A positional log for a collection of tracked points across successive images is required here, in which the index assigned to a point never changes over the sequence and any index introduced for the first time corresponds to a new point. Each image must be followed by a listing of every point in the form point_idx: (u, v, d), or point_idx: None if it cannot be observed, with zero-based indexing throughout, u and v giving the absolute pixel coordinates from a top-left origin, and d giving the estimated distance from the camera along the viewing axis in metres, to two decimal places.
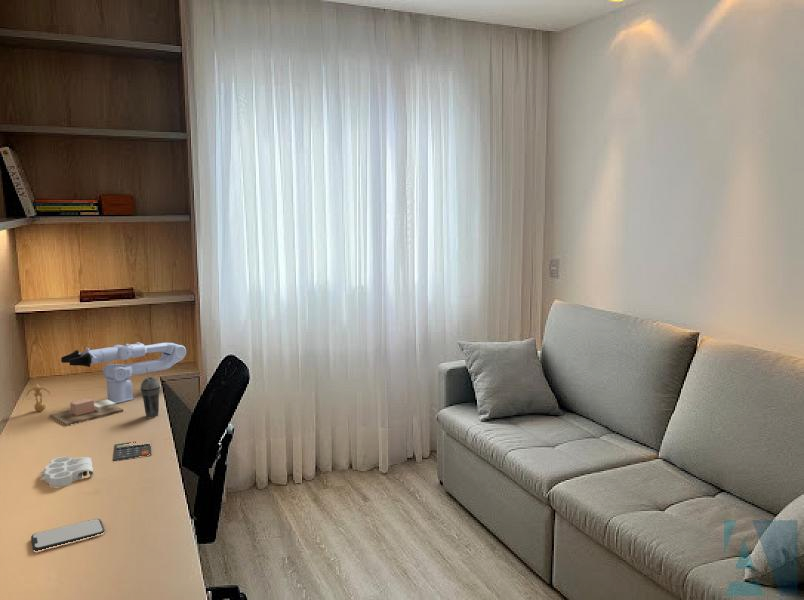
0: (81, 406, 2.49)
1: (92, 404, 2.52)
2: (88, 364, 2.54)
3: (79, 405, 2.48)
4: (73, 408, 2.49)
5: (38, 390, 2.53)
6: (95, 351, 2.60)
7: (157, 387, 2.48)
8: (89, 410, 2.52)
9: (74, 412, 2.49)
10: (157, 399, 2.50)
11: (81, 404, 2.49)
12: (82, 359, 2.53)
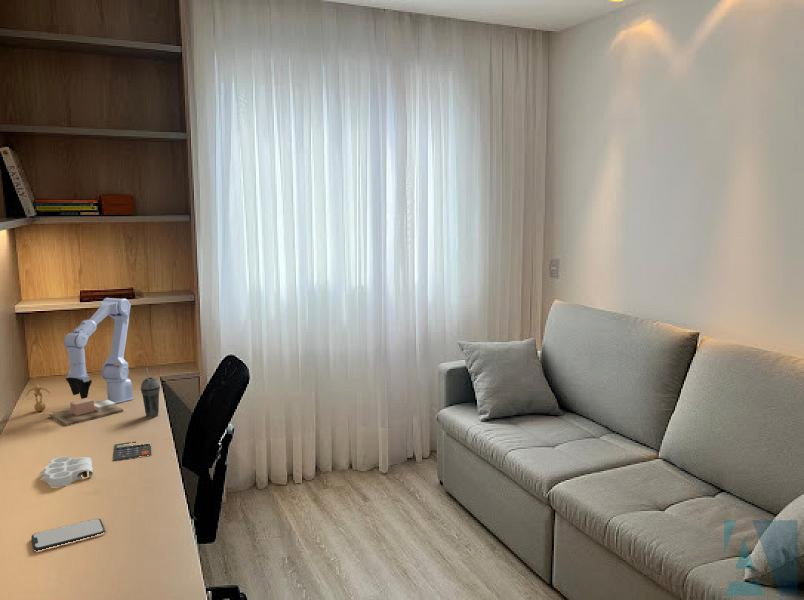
0: (81, 406, 2.49)
1: (92, 404, 2.52)
2: (89, 382, 2.47)
3: (79, 405, 2.48)
4: (73, 408, 2.49)
5: (38, 390, 2.53)
6: (73, 370, 2.46)
7: (157, 387, 2.48)
8: (89, 410, 2.52)
9: (74, 412, 2.49)
10: (157, 399, 2.50)
11: (81, 404, 2.49)
12: (82, 387, 2.47)
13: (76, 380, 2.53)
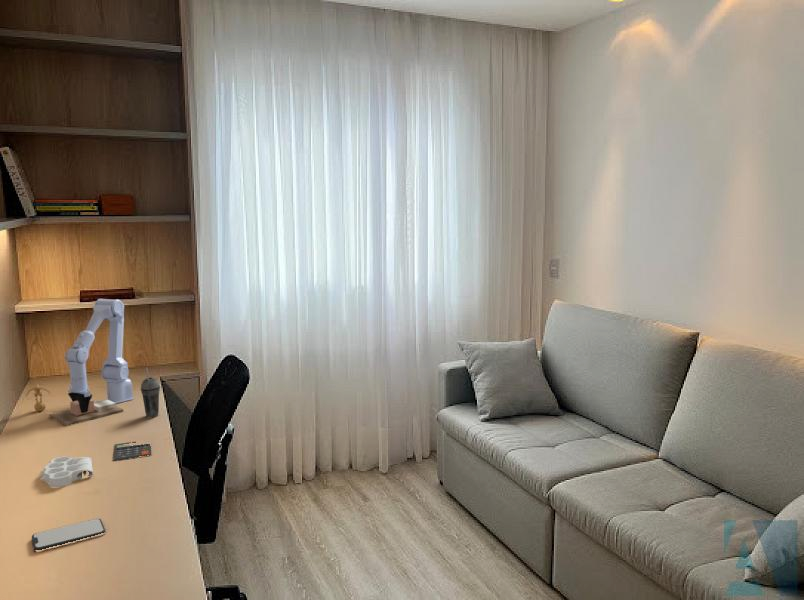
0: None
1: (92, 404, 2.52)
2: (89, 397, 2.49)
3: (79, 405, 2.48)
4: (73, 408, 2.49)
5: (38, 390, 2.53)
6: (74, 385, 2.47)
7: (157, 387, 2.48)
8: (89, 410, 2.52)
9: (74, 412, 2.49)
10: (157, 399, 2.50)
11: None
12: (82, 401, 2.48)
13: (78, 395, 2.53)
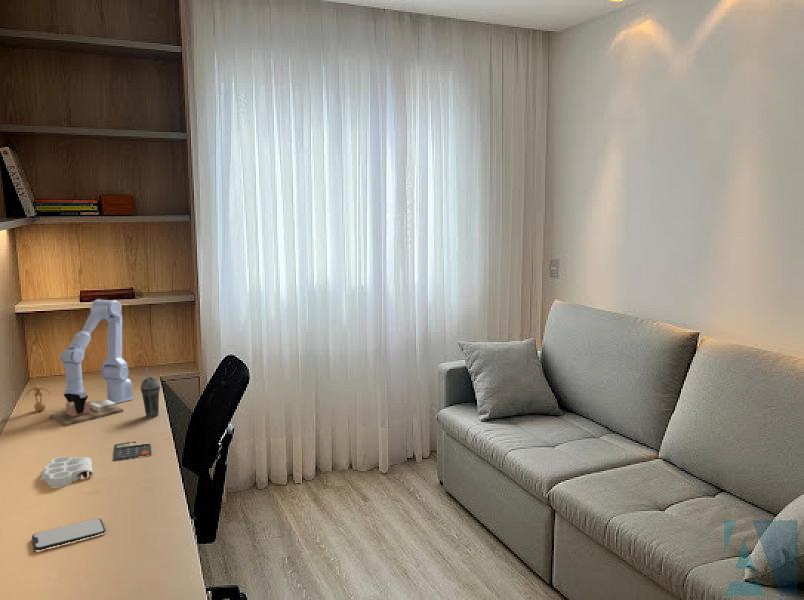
0: None
1: (88, 405, 2.51)
2: (85, 398, 2.48)
3: None
4: (69, 409, 2.48)
5: (38, 390, 2.53)
6: (69, 386, 2.46)
7: (157, 387, 2.48)
8: (85, 411, 2.50)
9: (70, 413, 2.48)
10: (157, 399, 2.50)
11: None
12: (78, 402, 2.47)
13: (74, 396, 2.52)
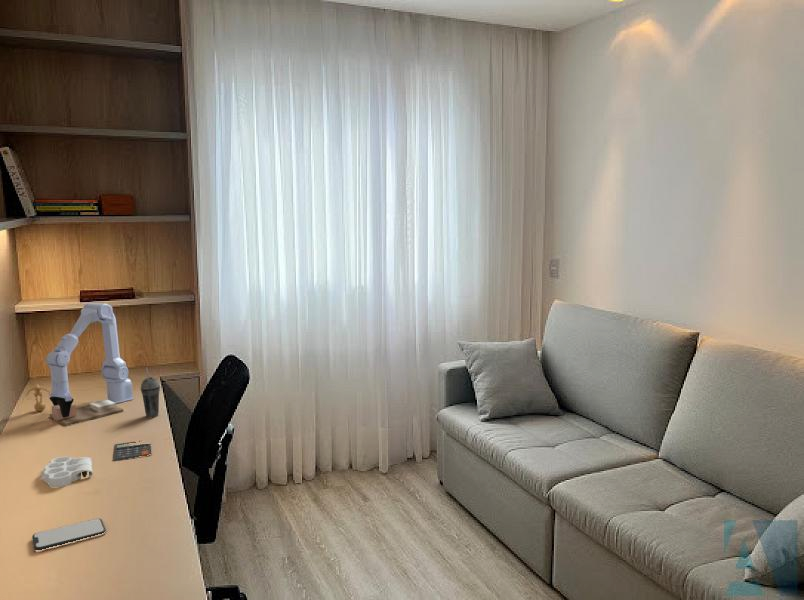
0: None
1: (74, 408, 2.47)
2: (70, 401, 2.44)
3: (60, 409, 2.43)
4: (55, 413, 2.44)
5: (38, 390, 2.53)
6: (55, 389, 2.42)
7: (157, 387, 2.48)
8: (71, 414, 2.46)
9: (55, 417, 2.44)
10: (157, 399, 2.50)
11: None
12: (63, 405, 2.43)
13: (60, 399, 2.48)
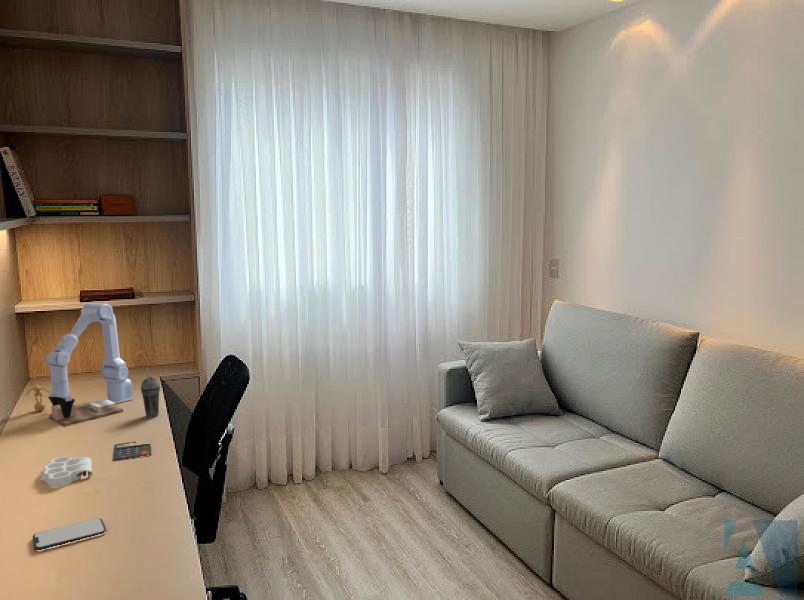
0: None
1: (74, 408, 2.47)
2: (72, 401, 2.43)
3: (60, 409, 2.43)
4: (55, 413, 2.44)
5: (38, 390, 2.53)
6: (55, 389, 2.42)
7: (157, 387, 2.48)
8: (71, 414, 2.46)
9: (55, 417, 2.44)
10: (157, 399, 2.50)
11: None
12: (65, 406, 2.43)
13: (59, 399, 2.48)
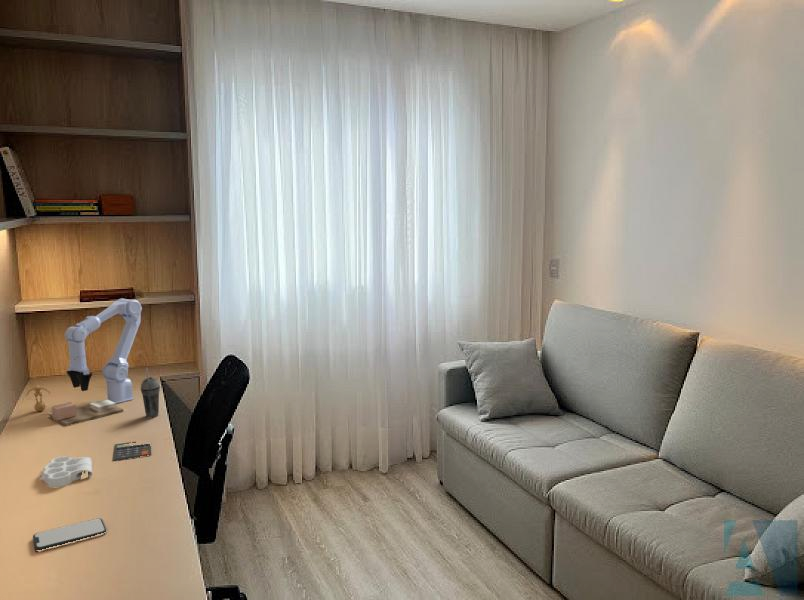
0: (62, 410, 2.44)
1: (74, 408, 2.47)
2: (89, 375, 2.53)
3: (60, 409, 2.43)
4: (55, 413, 2.44)
5: (38, 390, 2.53)
6: (73, 363, 2.52)
7: (157, 387, 2.48)
8: (71, 414, 2.46)
9: (55, 417, 2.44)
10: (157, 399, 2.50)
11: (62, 408, 2.44)
12: (82, 379, 2.52)
13: (77, 373, 2.58)
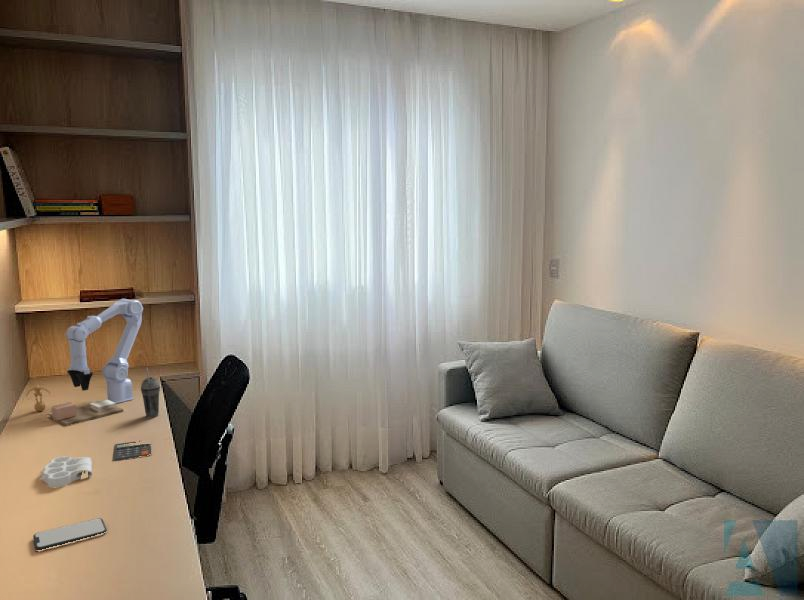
0: (62, 410, 2.44)
1: (74, 408, 2.47)
2: (90, 375, 2.53)
3: (60, 409, 2.43)
4: (55, 413, 2.44)
5: (38, 390, 2.53)
6: (74, 363, 2.52)
7: (157, 387, 2.48)
8: (71, 414, 2.46)
9: (55, 417, 2.44)
10: (157, 399, 2.50)
11: (62, 408, 2.44)
12: (83, 379, 2.53)
13: (77, 372, 2.59)
